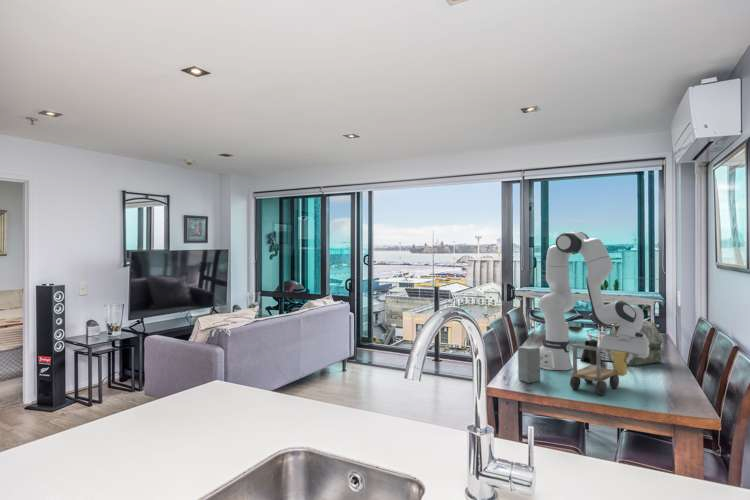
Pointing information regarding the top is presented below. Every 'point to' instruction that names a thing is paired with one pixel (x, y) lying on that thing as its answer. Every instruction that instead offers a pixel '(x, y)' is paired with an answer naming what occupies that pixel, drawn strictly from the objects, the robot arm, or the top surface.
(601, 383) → the trolley
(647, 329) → the lunch bag
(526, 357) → the gray hexagonal prism
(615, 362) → the yellow rectangular block
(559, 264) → the robot arm
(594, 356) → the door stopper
